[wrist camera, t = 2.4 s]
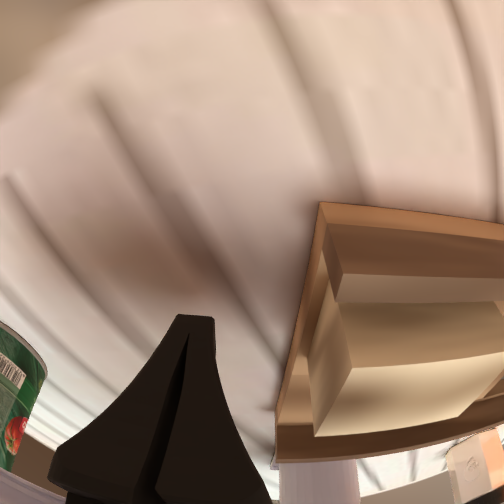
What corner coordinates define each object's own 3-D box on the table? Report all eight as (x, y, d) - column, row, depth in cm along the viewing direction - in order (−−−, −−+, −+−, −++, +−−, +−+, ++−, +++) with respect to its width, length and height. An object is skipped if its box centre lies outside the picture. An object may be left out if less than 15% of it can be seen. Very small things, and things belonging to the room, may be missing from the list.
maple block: (434, 352, 14) (457, 416, 11) (307, 357, 14) (314, 436, 11) (478, 278, 11) (520, 348, 8) (330, 273, 11) (352, 367, 8)
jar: (491, 424, 28) (510, 498, 18) (500, 429, 30) (517, 493, 21) (436, 454, 32) (449, 525, 22) (452, 456, 35) (465, 517, 25)
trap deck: (526, 378, 21) (539, 408, 17) (274, 412, 20) (275, 463, 17) (613, 247, 11) (639, 279, 8) (319, 201, 11) (343, 273, 8)
